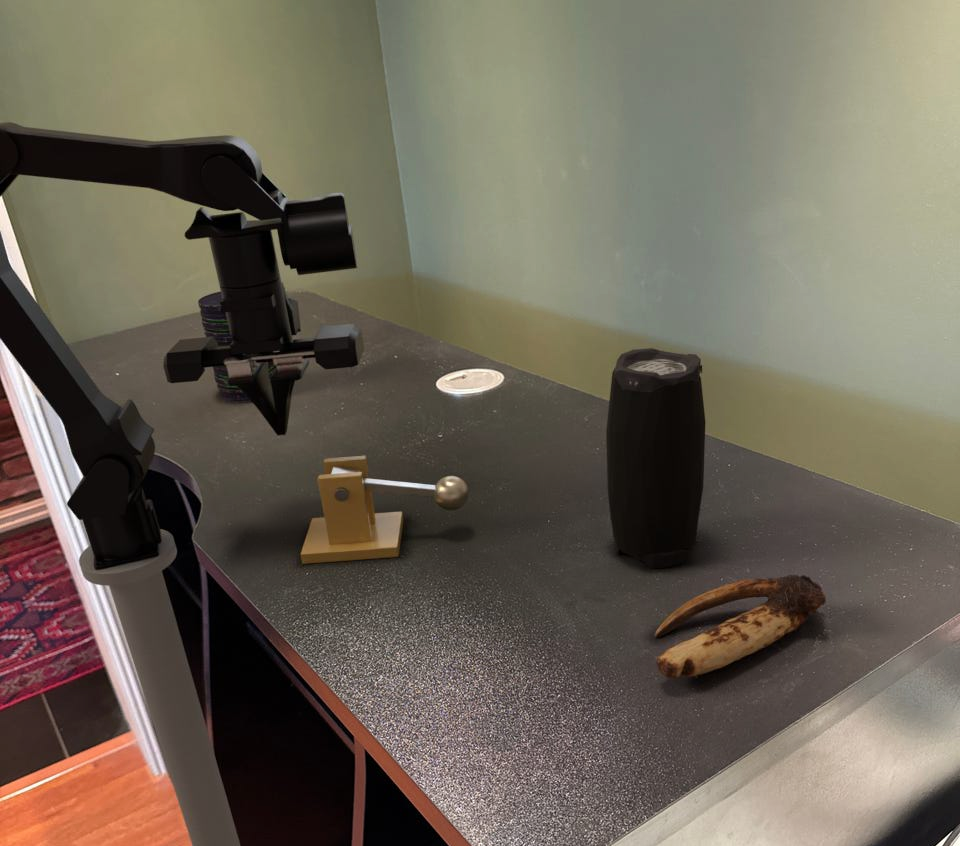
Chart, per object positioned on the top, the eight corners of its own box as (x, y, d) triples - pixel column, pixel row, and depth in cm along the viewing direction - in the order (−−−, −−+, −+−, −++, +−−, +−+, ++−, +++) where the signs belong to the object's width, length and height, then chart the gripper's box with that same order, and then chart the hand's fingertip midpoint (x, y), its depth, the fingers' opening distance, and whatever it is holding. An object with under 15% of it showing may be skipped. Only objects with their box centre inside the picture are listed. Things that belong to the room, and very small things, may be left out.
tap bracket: (403, 520, 101) (393, 447, 97) (398, 557, 94) (387, 479, 90) (313, 527, 101) (300, 454, 97) (302, 564, 94) (286, 487, 90)
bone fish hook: (760, 585, 85) (609, 654, 76) (762, 540, 83) (608, 606, 74) (845, 627, 77) (688, 708, 69) (850, 578, 75) (689, 656, 67)
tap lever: (466, 502, 97) (470, 471, 96) (466, 518, 94) (470, 486, 92) (332, 489, 96) (334, 458, 95) (328, 504, 93) (329, 472, 92)
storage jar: (289, 393, 141) (267, 276, 133) (226, 407, 138) (199, 288, 129) (273, 376, 149) (251, 264, 141) (213, 389, 146) (186, 276, 137)
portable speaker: (715, 541, 91) (725, 352, 82) (666, 582, 85) (671, 384, 76) (641, 519, 97) (643, 339, 87) (590, 557, 91) (587, 367, 81)
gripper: (357, 253, 93) (380, 398, 100) (178, 270, 94) (213, 412, 101) (343, 279, 83) (369, 437, 91) (142, 298, 84) (184, 453, 91)
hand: (282, 433), depth 94 cm, fingers closed
